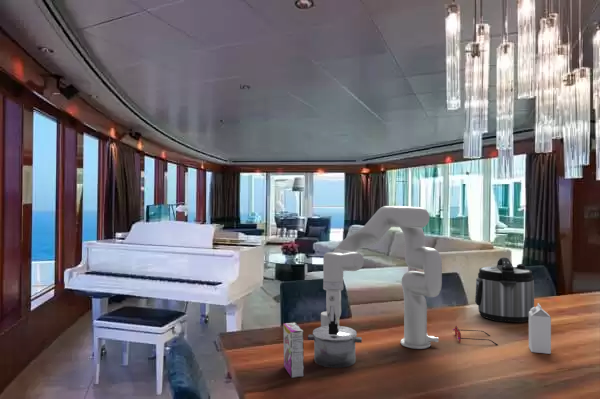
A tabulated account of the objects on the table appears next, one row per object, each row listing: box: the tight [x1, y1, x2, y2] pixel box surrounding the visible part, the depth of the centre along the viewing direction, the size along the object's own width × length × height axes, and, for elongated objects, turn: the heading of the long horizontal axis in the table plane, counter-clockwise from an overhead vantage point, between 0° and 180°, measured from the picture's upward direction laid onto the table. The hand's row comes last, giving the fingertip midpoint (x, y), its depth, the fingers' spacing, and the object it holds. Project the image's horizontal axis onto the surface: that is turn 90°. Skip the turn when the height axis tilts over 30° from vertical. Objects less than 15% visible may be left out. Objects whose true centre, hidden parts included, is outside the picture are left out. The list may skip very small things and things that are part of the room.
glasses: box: [452, 325, 499, 346], centre depth 198 cm, size 14×16×5 cm
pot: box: [307, 334, 363, 369], centre depth 173 cm, size 21×17×10 cm
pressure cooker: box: [474, 257, 535, 323], centre depth 235 cm, size 30×28×32 cm
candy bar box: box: [282, 322, 305, 379], centre depth 160 cm, size 11×5×16 cm, turn 17°
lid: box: [312, 325, 358, 341], centre depth 172 cm, size 17×17×2 cm
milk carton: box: [528, 302, 552, 355], centre depth 183 cm, size 7×7×19 cm
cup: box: [320, 310, 340, 327], centre depth 196 cm, size 8×8×12 cm
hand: (333, 333), depth 166 cm, fingers closed
